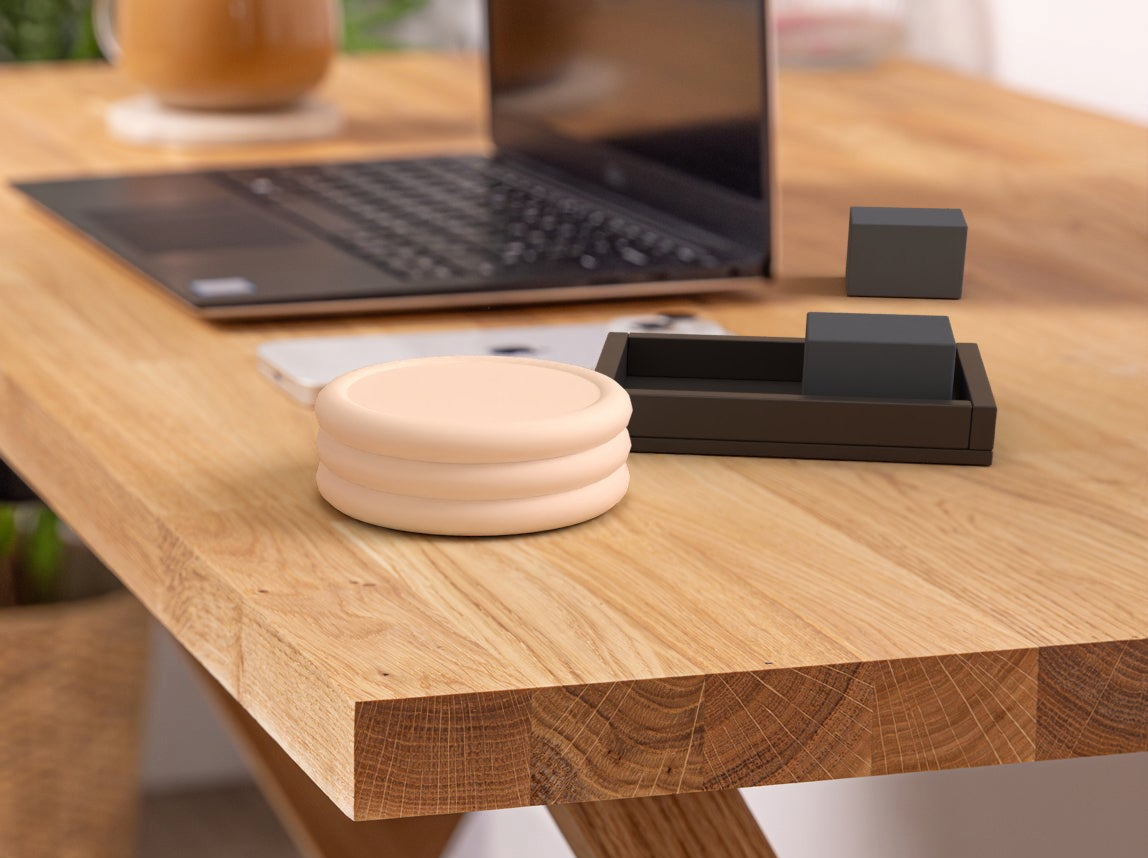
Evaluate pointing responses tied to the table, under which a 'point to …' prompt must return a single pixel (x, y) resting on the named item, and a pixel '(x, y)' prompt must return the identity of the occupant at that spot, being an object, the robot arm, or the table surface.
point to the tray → (786, 404)
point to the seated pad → (878, 356)
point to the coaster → (473, 444)
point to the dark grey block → (906, 252)
